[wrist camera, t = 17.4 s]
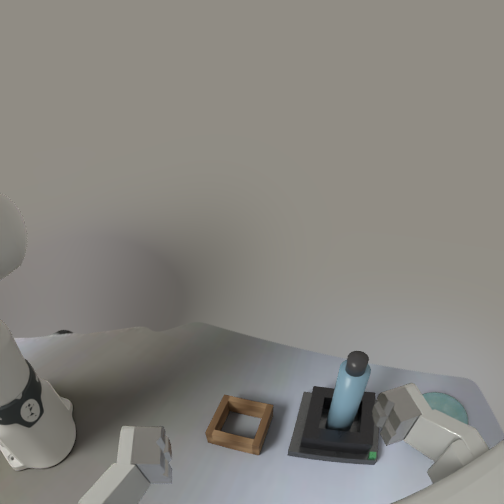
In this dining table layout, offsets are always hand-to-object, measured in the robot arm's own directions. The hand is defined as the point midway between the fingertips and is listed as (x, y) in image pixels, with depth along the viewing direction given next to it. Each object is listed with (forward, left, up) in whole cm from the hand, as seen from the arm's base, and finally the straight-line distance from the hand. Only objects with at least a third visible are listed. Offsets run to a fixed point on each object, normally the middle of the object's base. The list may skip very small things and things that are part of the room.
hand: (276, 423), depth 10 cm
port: (+5, +22, -33) cm, 40 cm away
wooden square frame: (-9, +19, -33) cm, 39 cm away
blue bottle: (+5, +22, -31) cm, 38 cm away
